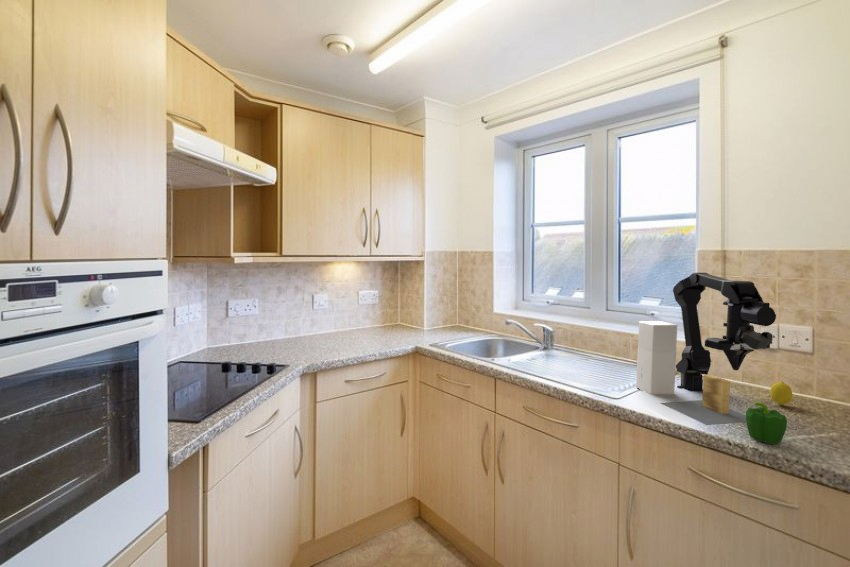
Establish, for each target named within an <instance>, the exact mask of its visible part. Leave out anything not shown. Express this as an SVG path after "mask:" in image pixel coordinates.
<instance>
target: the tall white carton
mask: <svg viewBox="0 0 850 567" xmlns="http://www.w3.org/2000/svg"><path fill="white" fill-rule="evenodd" d="M677 338H678V325H677V324H675V323H672V322H667V321H662V320H647V321H646V320H639V321H638V338H637V339H638V340H637V356H636V357H637V360H636V362H637V363H636V381H635V382H636V383H635V386H636V387H637V388H639V389H640V390H639V389H638V390H639V391H641V392H646V393H648V394H649V395H675V390H676V388H675V386H676V385H675V383H676V365H677V345H678V344H677V342H678V341H677V340H678V339H677ZM636 387H635V388H636ZM637 388H636V389H637Z"/></svg>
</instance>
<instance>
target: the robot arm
mask: <svg viewBox="0 0 850 567" xmlns="http://www.w3.org/2000/svg"><path fill="white" fill-rule="evenodd" d="M706 288H708V289H712V290H715V291H717V292H720V293H721V295H722V296H723V297H725V298H727V299H726V300H725V301H723V302H722V305H724V306H727V315H726V322H723V325H722V326H723V327H726V331H725V332H726V334H725V335H722V338H718V337H707V338H705V340H704V346H703V342H702V335H701V328H700V320H699V311H698V305H699V302H700V301H701V299H702V293H703V292H704V291H705V290H706ZM672 292H673V293H672V294H673V296H674V301H675V302H676V303H677V304H678V306H679V307H680V310H681V318H682V325H683V326H682V327H683V334H684V342H685V347H684V348H683V351H682V352H681V359H680V360H679V361H678V363H676V369H675V371H676V372H677V373H680V385H676V388H679V389H681V390H682V389H684V390H686V391H689V392H703V383H704V378H703V375H709V371H710V368H711V366H712V365H711V364H712V359H711V352H710V350H709V349H705V347H706V348H710V349H714V350H717V351H723V353H724V355H725V356H726V358H727V361H728V362H729V364H730V366H731V368H732V370H733V371H739V370H740V368H741V366H742V363H743V362H744V360H745V358H746V356H747V355H748V354H750V353H752V352H754V351H755V350H761V349H762V350H766V349H771V348H770V347H771V345H772V344H773V334H772V333H771V332H769V331H763V332H756V331H755V326H754V325H757V326H761V327H770V326H772V325H773V324H774V323H775V321H776V319H777V314H776V311H775V310H774V309H773V308H772V307H771V305H770V304H771V303H770V302H765V301H764V300H763V297H762V296H761V294H760V292H759V291H758V288H757V287H756V286H755V282H753V281H750V280H732V279H731V280H730V279H727V278H723V277H720V276H716V275H713V274H711V273H710V274H709V273H707V272H693V273H691V274H690V275H689V276H687V277H685V278H684V279H681V280H680V281H678V282H677V283H676V284H675V285H674V287H673V288H672Z"/></svg>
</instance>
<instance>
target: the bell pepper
mask: <svg viewBox="0 0 850 567" xmlns="http://www.w3.org/2000/svg"><path fill="white" fill-rule="evenodd" d="M753 404H754V406H755V408H753V407H752V408H751V407H749V408H748V407H747V410H746V411H745V415H746V422H745V423H746V427H747V431H748V435H749V436H750V438H752V439H753V440H754V441H758V442H764V443H767V444H770V445H778V444H780V443H781V442H782V440H783V439H784V436H785V433H786V430H787V426H788V420H787V417H786V416H785V415H784V414H782V413H780V412H779V411H778V410H777V409H769V408H768V406H767V405H766V404H765V403H763V402H759V401H755V402H753Z"/></svg>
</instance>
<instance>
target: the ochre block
mask: <svg viewBox="0 0 850 567" xmlns="http://www.w3.org/2000/svg"><path fill="white" fill-rule="evenodd" d="M730 392H731V380H728V379H725V378H722V377H719V376H715V375H713V374H707V375H705V374H703V391H702V400H703V403H702V406H704V407H707V408H709V409H711V410H714V411H716V412H718V413H721V414H726V413H729V409H730V394H731V393H730Z"/></svg>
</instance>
